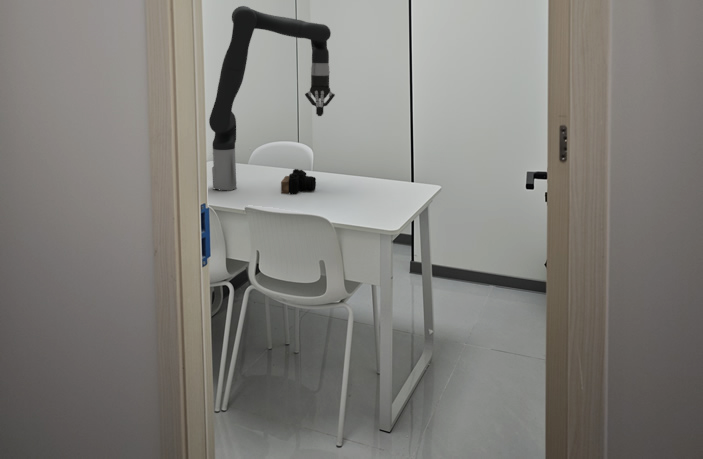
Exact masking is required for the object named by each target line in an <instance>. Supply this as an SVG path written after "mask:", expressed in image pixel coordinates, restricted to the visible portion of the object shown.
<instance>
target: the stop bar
mask: <svg viewBox="0 0 703 459" xmlns="http://www.w3.org/2000/svg"><path fill="white" fill-rule="evenodd" d="M280 191H281V192H280V193H281V194H282V195H283V194H284V195H285V194H286V195H288V194H289V175H285V176H284V178H283V179H281V182H280ZM289 195H290V194H289Z"/></svg>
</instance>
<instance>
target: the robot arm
mask: <svg viewBox="0 0 703 459" xmlns="http://www.w3.org/2000/svg"><path fill="white" fill-rule="evenodd" d="M231 22H232V23H233V24H232V33H231V39H230V43H229V45H228V48H227V50H226V52H225V55H224V58H223V60H222V65H221V70H220V73H219V75H220V76H219V78H218V80H219V81H218V85H217V90H216V96H215V101H214V104H213V106H212V110H211V113H210V115H209V119H208V121H209V128H210V129H211V130H212V131H213V132H214V136H213V137H214V138H213V141H212V158H213V159H212V161H213V166H212V168H211V170H212V171H211V172H212V173H211V174H212V189H213V188H215V189H220V190H219V191H222V190H227V191H234V190H235V189H237V166H236V165H237V164H236V160H237V159H236V142H237V118H236V116H235V114H234V113H233V111H232V108H233V105H234V102H235V98H236V96H237V94H238V93H239V90H240V88H241V86H242V84H243V80H244V76H245V71H246V69H247V68H246V67H247V61H248V54H249V48H250V43H251V40H252V37H253V34H254V31H255V30H256V29H257V30H265V31H268V32H273V33H277V34H279V35H282V36H287V37H291V38H296V39H297V38H298V39H306V40H310V46H311V67H310V88H309V91H307V92H306V93H304V95H305V97H306V99H307V100H308V101H309V103H310V104H311V105H312V106H313V107H315V112H316V113H315V114H316V115H317V117H322V116H323V115H324V107H327V106H328V105H329V104H330V102H331V101H332V100H333V99H334V97H336V94H335V93H333V92H332V91H331V88H330V64H329V63H330V55H329V54H330V53H329V49H328V40H329V39H330V37H331V33H332V32H331V29H330V27H328V26H327V25H326V24H324V23H317V22H315V23H314V22H309V21H305V20H302V19H297V18H292V17H284V16H279V15H273V14H267V13H264V12H260V11H257V10H255V9H251V8H250V7H249V6H245V5H241V6H238V7H236V8H235V9H234V10H233V12H232V13H231ZM312 96H313V97H314V99H315V100H314V99H313V97H312ZM327 97H328V99H327V100H326V101H325V98H327ZM215 189H214V190H215ZM233 189H234V190H233Z"/></svg>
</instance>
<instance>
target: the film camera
mask: <svg viewBox="0 0 703 459" xmlns="http://www.w3.org/2000/svg"><path fill="white" fill-rule="evenodd" d="M288 176H289V195H297V194H299V193H300V192H304V191H305V192H312V191H313V192H314V191H316V186H317V179H316V177H315V176H309V175H307V172H306V171H305V170H303V169H298V168H295V169H293V170H292V173H289V175H288Z"/></svg>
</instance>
